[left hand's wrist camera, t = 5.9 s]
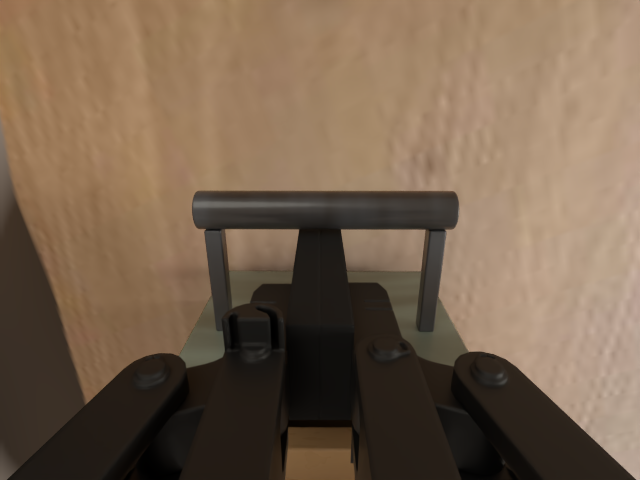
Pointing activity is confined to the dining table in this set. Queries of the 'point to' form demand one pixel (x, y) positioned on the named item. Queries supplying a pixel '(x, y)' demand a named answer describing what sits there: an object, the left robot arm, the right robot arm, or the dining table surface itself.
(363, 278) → the drawer
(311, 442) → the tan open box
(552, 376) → the dining table surface
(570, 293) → the dining table surface
